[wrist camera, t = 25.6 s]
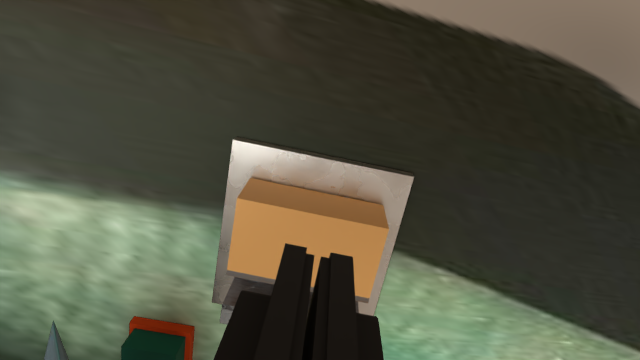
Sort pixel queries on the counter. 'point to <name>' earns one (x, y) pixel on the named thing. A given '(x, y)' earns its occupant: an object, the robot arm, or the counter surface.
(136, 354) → the power tool
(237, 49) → the counter surface
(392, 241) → the vise base
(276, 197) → the block
